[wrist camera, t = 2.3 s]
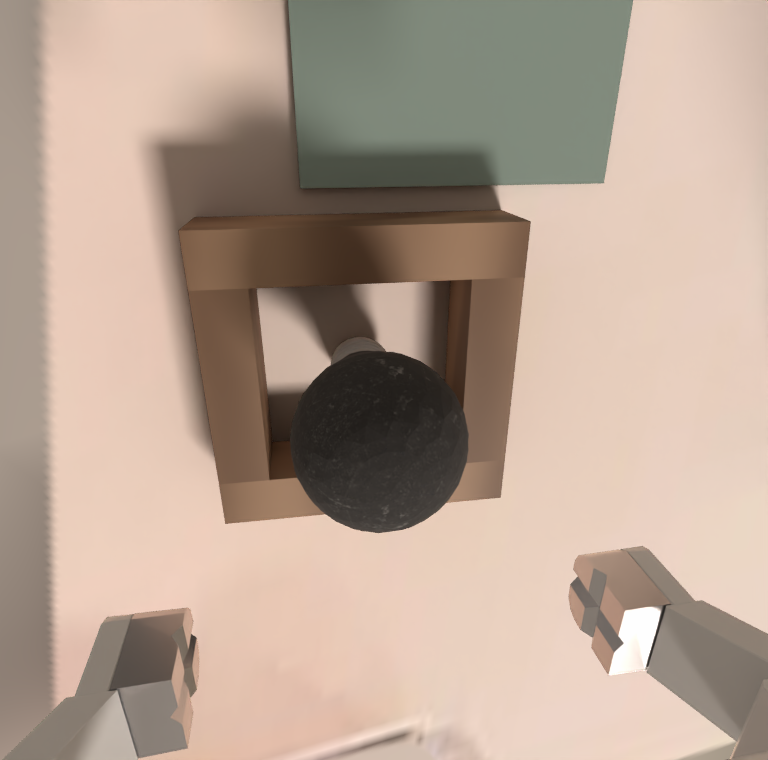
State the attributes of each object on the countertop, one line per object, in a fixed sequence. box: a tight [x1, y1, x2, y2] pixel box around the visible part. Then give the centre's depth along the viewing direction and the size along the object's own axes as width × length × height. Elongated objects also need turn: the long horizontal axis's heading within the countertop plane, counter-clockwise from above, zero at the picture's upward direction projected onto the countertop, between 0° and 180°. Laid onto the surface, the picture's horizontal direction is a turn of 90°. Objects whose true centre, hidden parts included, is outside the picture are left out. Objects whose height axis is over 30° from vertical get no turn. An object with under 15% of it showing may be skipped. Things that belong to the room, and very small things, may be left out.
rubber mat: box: [288, 0, 633, 188], centre depth 19 cm, size 12×10×1 cm
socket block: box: [178, 210, 531, 524], centre depth 22 cm, size 12×12×3 cm
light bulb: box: [290, 337, 469, 533], centre depth 19 cm, size 6×6×10 cm
